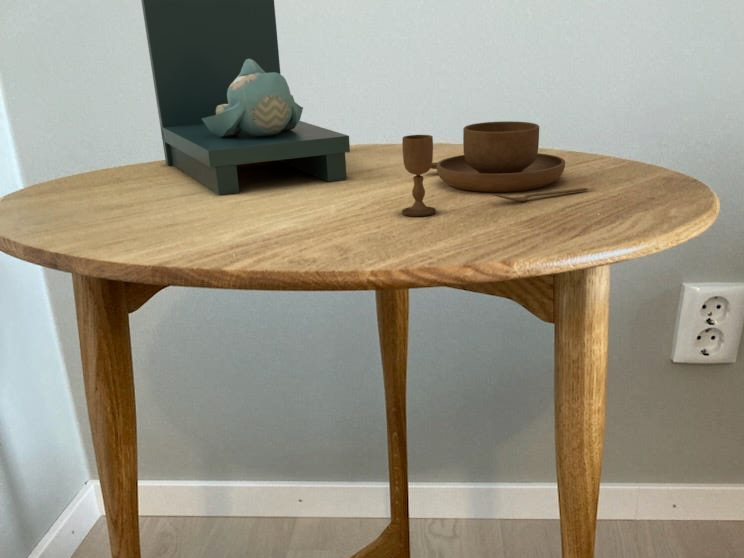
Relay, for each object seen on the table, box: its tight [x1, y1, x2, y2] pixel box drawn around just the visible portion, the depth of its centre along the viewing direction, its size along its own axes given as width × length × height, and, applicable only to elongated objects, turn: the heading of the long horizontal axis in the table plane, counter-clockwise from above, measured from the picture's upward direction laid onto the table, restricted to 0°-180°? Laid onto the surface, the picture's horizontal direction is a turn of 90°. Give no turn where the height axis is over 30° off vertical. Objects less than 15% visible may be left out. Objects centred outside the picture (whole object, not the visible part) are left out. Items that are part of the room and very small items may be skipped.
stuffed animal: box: [202, 59, 304, 137], centre depth 91 cm, size 11×7×12 cm
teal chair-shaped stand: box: [140, 0, 351, 196], centre depth 91 cm, size 21×14×22 cm, turn 24°
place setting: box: [401, 120, 589, 217], centre depth 83 cm, size 18×20×6 cm
